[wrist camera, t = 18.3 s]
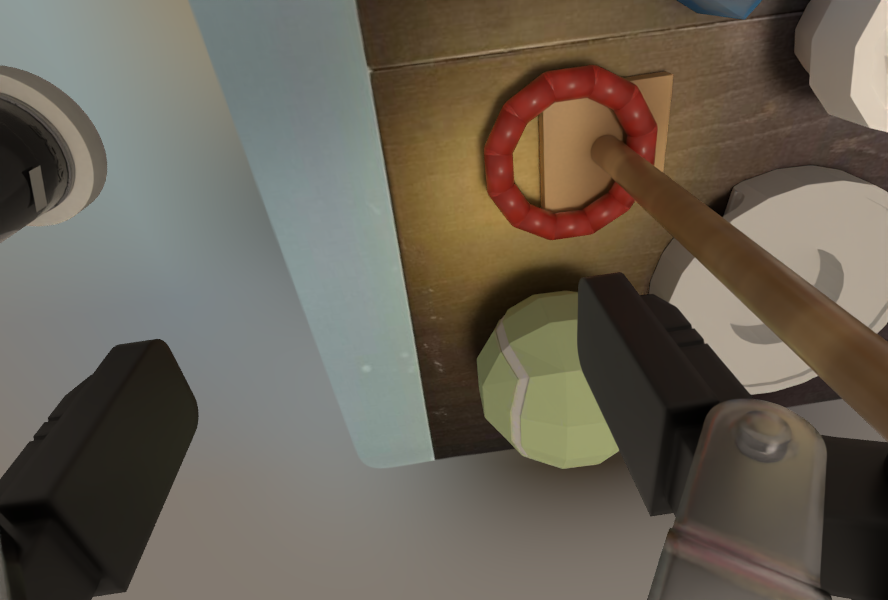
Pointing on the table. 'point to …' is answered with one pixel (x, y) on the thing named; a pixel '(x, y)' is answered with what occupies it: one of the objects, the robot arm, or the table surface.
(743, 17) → the perfume bottle
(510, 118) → the ring
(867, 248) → the grey plate
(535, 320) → the tennis ball
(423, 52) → the table surface
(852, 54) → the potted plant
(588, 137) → the peg stand
